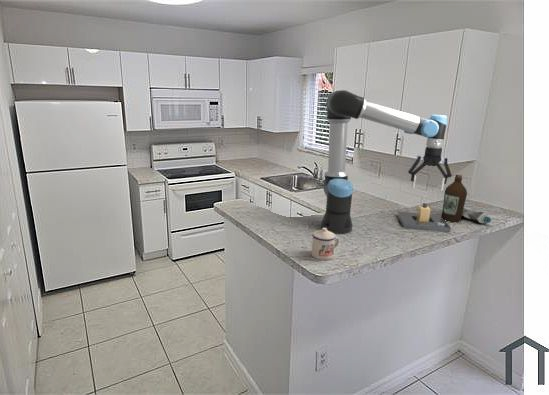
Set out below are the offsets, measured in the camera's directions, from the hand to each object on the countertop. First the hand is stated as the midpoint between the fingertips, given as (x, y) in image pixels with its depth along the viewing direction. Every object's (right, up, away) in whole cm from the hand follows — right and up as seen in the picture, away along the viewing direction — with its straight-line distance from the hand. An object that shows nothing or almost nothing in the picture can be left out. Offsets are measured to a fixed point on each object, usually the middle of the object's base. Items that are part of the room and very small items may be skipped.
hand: (427, 188), depth 179 cm
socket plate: (0, -18, +5) cm, 19 cm away
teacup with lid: (-57, -28, -37) cm, 74 cm away
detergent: (+29, -17, +16) cm, 37 cm away
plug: (0, -18, +5) cm, 19 cm away
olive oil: (+18, -17, +13) cm, 28 cm away
